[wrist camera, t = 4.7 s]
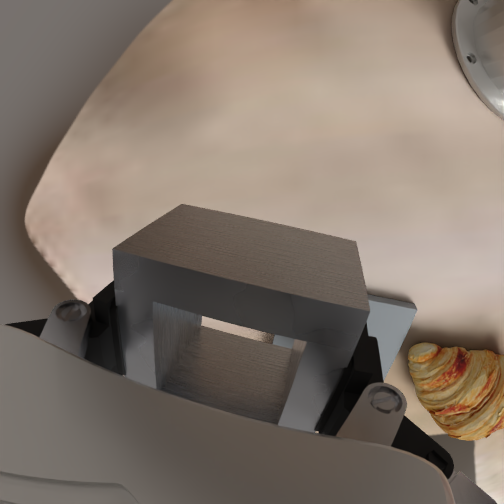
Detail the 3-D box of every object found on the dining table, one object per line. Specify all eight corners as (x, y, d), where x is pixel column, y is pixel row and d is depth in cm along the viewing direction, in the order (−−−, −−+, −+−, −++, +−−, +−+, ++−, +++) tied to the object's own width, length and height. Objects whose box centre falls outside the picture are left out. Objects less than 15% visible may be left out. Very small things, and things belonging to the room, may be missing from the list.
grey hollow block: (182, 203, 12) (112, 248, 8) (356, 241, 11) (370, 311, 7) (175, 338, 14) (129, 406, 10) (312, 374, 14) (301, 457, 10)
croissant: (381, 339, 30) (362, 410, 25) (455, 296, 23) (449, 384, 18) (486, 404, 31) (478, 460, 26) (548, 380, 23) (546, 442, 18)
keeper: (288, 277, 26) (277, 330, 19) (414, 303, 25) (440, 359, 18) (258, 396, 31) (244, 453, 24) (359, 414, 30) (363, 471, 23)
